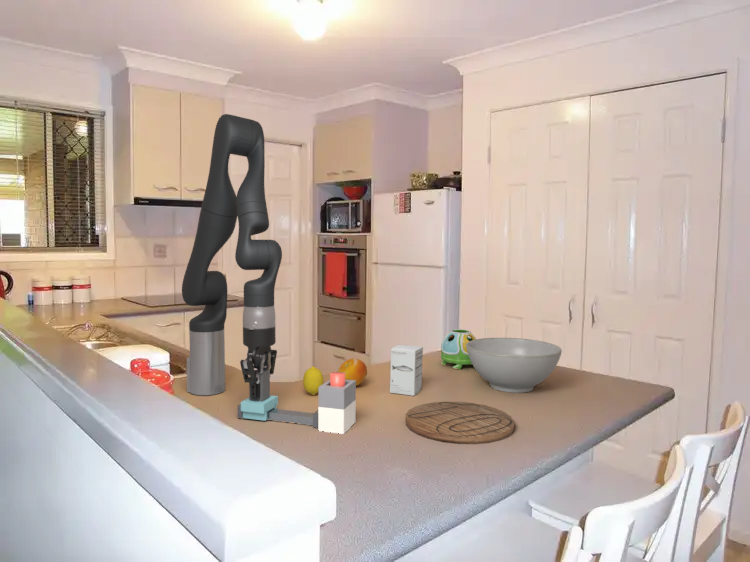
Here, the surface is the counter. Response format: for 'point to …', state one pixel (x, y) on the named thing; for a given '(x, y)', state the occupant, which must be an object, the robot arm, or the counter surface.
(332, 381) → the button
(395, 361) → the supplement box
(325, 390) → the grey and white block
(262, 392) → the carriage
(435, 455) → the counter surface
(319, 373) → the lemon
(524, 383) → the decorative bowl
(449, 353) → the turtle holder
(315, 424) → the rail
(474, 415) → the trivet
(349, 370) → the fruit
